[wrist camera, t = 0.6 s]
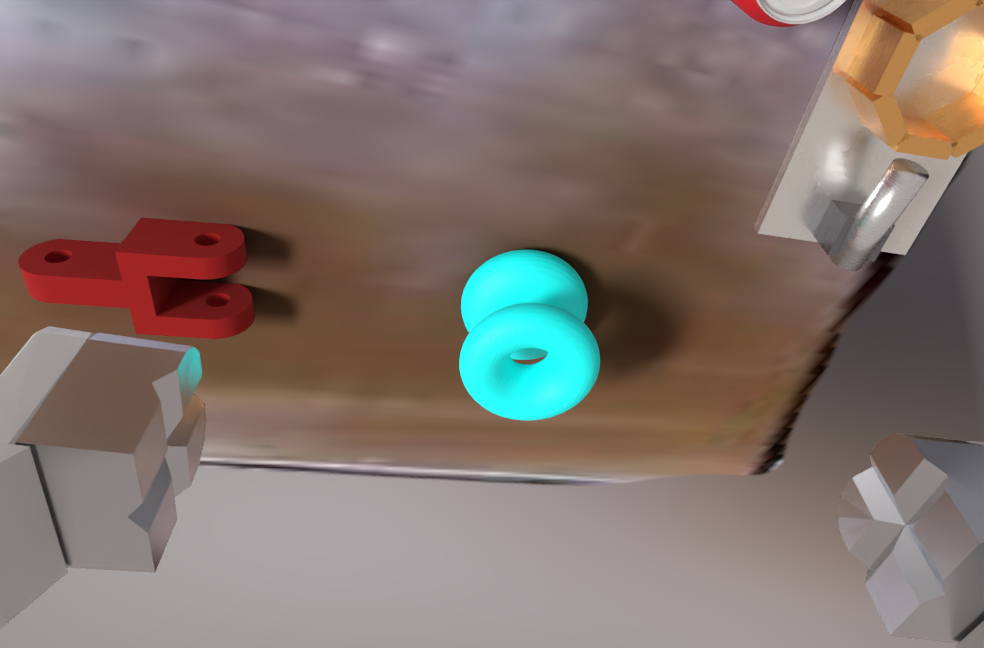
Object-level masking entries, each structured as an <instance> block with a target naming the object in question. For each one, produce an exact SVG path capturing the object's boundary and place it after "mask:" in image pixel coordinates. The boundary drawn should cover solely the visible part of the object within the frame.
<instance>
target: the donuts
mask: <svg viewBox="0 0 984 648" xmlns="http://www.w3.org/2000/svg"><path fill="white" fill-rule="evenodd" d="M587 308H588V298H587V292H586V289H585V286H584V283H583V281H582V279H581V278H580V276H579V275H578V273H577V272H576V271H575V270H574V269H573V267H572V266H570V265H569V264H568V263H567V262H565V261H564V260H562V259H561V258H559V257H557V256H555V255H552V254H550V253H547V252H543V251H538V250H528V249H524V250H514V251H509V252H505V253H502V254H500V255H497V256H495V257H493V258H491V259H490V260H488V261H486V262H485V263H484V264H482V265H481V266H480V267H479V268H478V269H477V270H476V271H475V272H474V273H473V274H472V276H471V277H470V278H469V280H468V282H467V284H466V286H465V288H464V291H463V295H462V301H461V312H462V317H463V321H464V324H465V326H466V328H467V330H468V332H469V334H468V336H467V338H466V339H465V342H464V344H463V347H462V350H461V353H460V374H461V378H462V381H463V383H464V385H465V388H466V389H467V391H468V392H469V394H470V395H471V396H472V397H473V399H474V400H475V401H476V402H477V403H479V404H480V405H481V406H482V407H484V408H485V409H487V410H488V411H490V412H492V413H494V414H497V415H499V416H502V417H506V418H510V419H516V420H540V419H545V418H549V417H553V416H556V415H559V414H561V413H563V412H566V411H567V410H569V409H571V408H572V407H574V406H575V405H577V404H578V403H579V402H580V401H582V400H583V399H584V398H585V397H586V395H587V394H588V393H589V392H590V390H591V389H592V387H593V385H594V384H595V382H596V379H597V377H598V373H599V368H600V353H599V348H598V344H597V342H596V339H595V337H594V335H593V334H592V332H591V331H590V329H589V328H588V327H587V325H586V324H585V323H584V321H585V318H586V314H587ZM544 356H546V357H545V358H544V359H543V360H542V361H540V362H538V363H535V364H531V365H524V364H519V363H516V362H515V361H513V360H512V359H517V360H529V359H536V358H541V357H544Z"/></svg>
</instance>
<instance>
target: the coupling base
mask: <svg viewBox="0 0 984 648" xmlns="http://www.w3.org/2000/svg"><path fill="white" fill-rule="evenodd" d="M982 144H984V0H854V2H853V4H852V6H851V9H850V11H849V13H848V15H847V18H846V20H845V22H844V24H843V27H842V29H841V31H840V33H839V36H838V38H837V40H836V42H835V45H834V47H833V49H832V51H831V54H830V56H829V58H828V60H827V63H826V65H825V67H824V69H823V72H822V74H821V76H820V78H819V81H818V83H817V85H816V87H815V90H814V92H813V94H812V96H811V99H810V101H809V103H808V105H807V108H806V110H805V112H804V114H803V117H802V119H801V121H800V123H799V126H798V128H797V130H796V132H795V135H794V137H793V139H792V141H791V144H790V146H789V148H788V150H787V153H786V155H785V157H784V159H783V162H782V164H781V166H780V168H779V171H778V173H777V175H776V177H775V180H774V182H773V184H772V186H771V189H770V191H769V193H768V195H767V198H766V200H765V202H764V204H763V207H762V209H761V211H760V213H759V216H758V218H757V220H756V222H755V225H754V228H755V230H756V231H757V233H758V234H765V235H772V236H779V237H786V238H793V239H799V240H806V241H813V242H819V244H820V245H821V246H822V248H823V249H824V251H825V252H826V253H827V255H830V258H831V260H832V261H833V262H834V263H835V264H836V265H837V266H839V267H841V268H843V269H845V270H848V271H858V270H860V269H861V268H862V266H863V265H864V264H865V262H866V261H873V262H874V261H875V260H876V258H877V256H878V254H879V253H880V251H882V252H889V253H896V254H902V255H906V253H907V252H908V250H909V248H910V247H911V245H912V243H913V242H914V240H915V238H916V237H917V235H918V233H919V232H920V230H921V229H922V227H923V225H924V224H925V222H926V220H927V219H928V217H929V215H930V214H931V212H932V210H933V209H934V207H935V205H936V204H937V202H938V201H939V199H940V197H941V196H942V194H943V192H944V191H945V189H946V187H947V186H948V184H949V182H950V181H951V179H952V177H953V176H954V174H955V173H956V171H957V169H958V168H959V166H960V164H961V163H962V161H963V159H964V158H965V156H966V154H967V153H968V152H969V151H971V150H973V149H974V148H976V147H978V146H980V145H982Z"/></svg>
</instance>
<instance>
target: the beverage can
mask: <svg viewBox="0 0 984 648" xmlns="http://www.w3.org/2000/svg"><path fill="white" fill-rule="evenodd" d="M731 1H732V2H733V3H734V4H736V5H737V6H738V7H739V8H740V9H742V10H743V11H744V12H745V13H746V14H748V15H749V16H750V17H751V18H753V19H754V20H756V21H758V22H760V23H763V24H766V25H770V26H777V27H788V26H795V25H799V24H805V23H809V22H813V21H816V20H818V19H821V18H823V17H825V16H826V15H828V14H830V13H831V12H833V11H834V10H836V9H837V8H838V7H839V6H841V5H842V4H843V3H844V2H845V1H846V0H731Z"/></svg>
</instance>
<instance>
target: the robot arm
mask: <svg viewBox="0 0 984 648" xmlns="http://www.w3.org/2000/svg"><path fill="white" fill-rule="evenodd" d="M201 376H202V369H201V361H200V354H199V351H198V350H197V349H196V348H194V347H193V346H186V345H179V344H172V343H165V342H159V341H152V340H145V339H138V338H131V337H124V336H117V335H111V334H104V333H98V334H95V333H90V332H83V331H76V330H70V329H63V328H56V327H46V328H44V329H42V330H40V331H38V332H36V333H35V334H33V336H32V337H31V338H30V339H29V341H28V342H27V343H26V344H25V345H24V347H23V348H22V349H21V350H20V352H19V353H18V354H17V355H16V357H15V358H14V359H13V360H12V362H11V363H10V364H9V365H8V366H7V368H6V369H5V370H4V371H3V373H2V374H1V375H0V629H1V628H2V627H3V626H4V625H5V624H7V623H8V622H9V621H10V620H12V619H13V618H14V617H15V616H16V615H18V614H19V613H20V612H21V611H22V610H24V609H25V608H26V607H27V606H28V605H29V604H30V603H32V602H33V601H34V600H35V599H37V598H38V597H39V596H40V595H41V594H42V593H44V592H45V591H46V590H47V589H49V588H50V587H51V586H52V585H53V584H54V583H56V582H57V581H58V580H59V579H61V578H62V577H63V576H64V575H65V574H67V573H68V570H67V567H70V568H87V569H104V570H120V571H138V572H155V571H156V569H157V566H158V564H159V562H160V559H161V557H162V555H163V552H164V550H165V547H166V545H167V542H168V540H169V538H170V535H171V533H172V530H173V528H174V526H175V523H176V521H177V514H176V505H175V496H177V495H178V494H180V493H181V492H182V491H184V490H185V489H186V488H188V487H190V486H191V484H192V481H193V479H194V476H195V474H196V471H197V468H198V466H199V462H200V458H201V454H202V449H203V445H204V440H205V428H206V413H205V404H204V403H203V402H202V401H201V400H200V398H199V397H198V396H197V395H196V394H195V393H194V392H195V389H196V387H197V385H198V383H199V381H200V378H201ZM870 457H871V463H872V467H871V468H870V469H868V470H866V471H864V472H862V473H860V474H858V475H856V476H855V477H853V478H852V479H851V480H850V482H849V483H848V485H847V486H846V488H845V490H844V491H843V493H842V494H841V496H840V502H839V510H838V522H839V527H840V532H841V535H842V538H843V539H844V542H845V544H846V546H847V548H848V550H849V552H850V553H851V554H852V555H853V556H854V557H856V558H857V559H858V560H859V561H860V562H861V563H862V564H863V565H864V566H866V567H867V568H868V573H867V577H866V581H865V586H866V588H867V590H868V592H869V594H870V596H871V598H872V600H873V602H874V604H875V606H876V608H877V610H878V612H879V614H880V617H881V619H882V621H883V623H884V625H885V627H886V629H887V631H888V633H889V635H890V636H898V637H907V638H915V639H924V640H933V641H941V642H951V643H958V644H957V645H956V646H955V647H956V648H984V442H975V441H970V442H966V441H960V440H952V439H944V438H935V437H926V436H918V435H909V434H900V433H892V434H890V435H888V436H887V437H885V438H883V439H881V440H880V441H879V442H878V444H877V445H876V446H875V448H874V449H873V450H872V452H871V453H870Z"/></svg>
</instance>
